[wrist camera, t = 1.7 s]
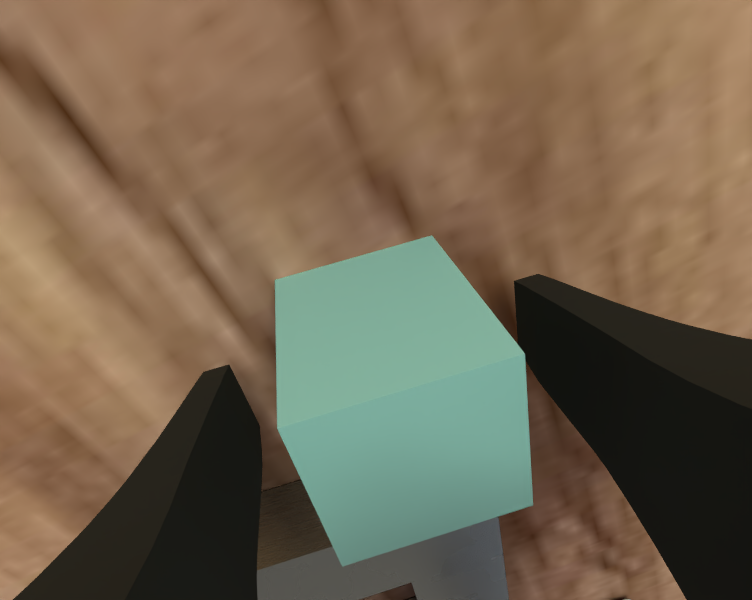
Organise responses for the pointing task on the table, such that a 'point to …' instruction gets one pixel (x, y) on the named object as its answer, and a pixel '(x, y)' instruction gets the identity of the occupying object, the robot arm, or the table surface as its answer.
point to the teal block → (399, 399)
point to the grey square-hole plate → (370, 559)
